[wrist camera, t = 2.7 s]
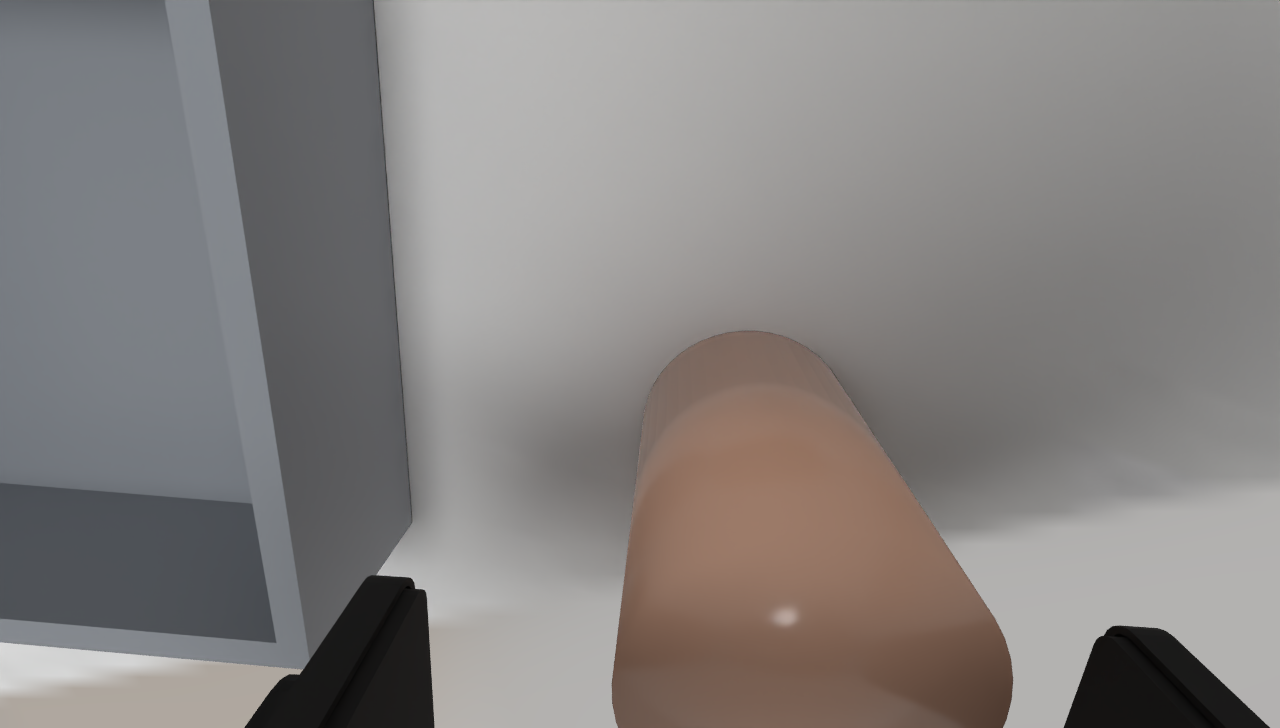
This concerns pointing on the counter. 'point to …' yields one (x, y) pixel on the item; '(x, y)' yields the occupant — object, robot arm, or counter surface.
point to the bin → (194, 326)
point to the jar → (789, 563)
